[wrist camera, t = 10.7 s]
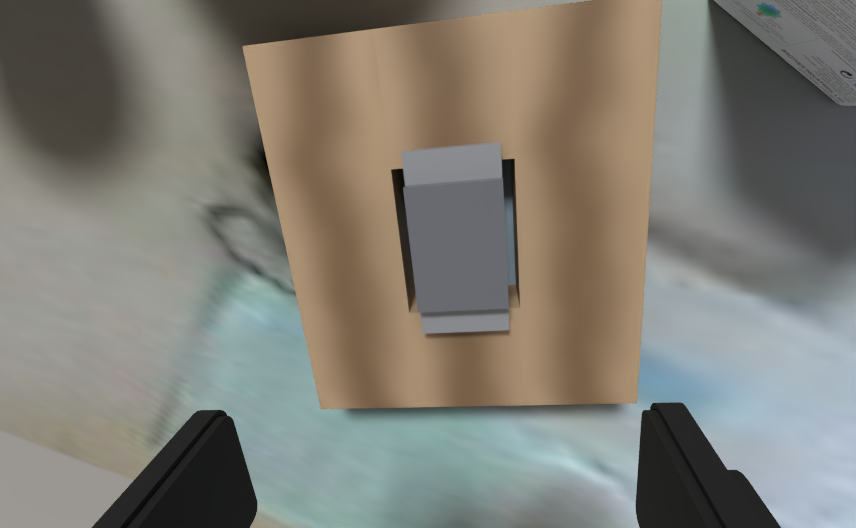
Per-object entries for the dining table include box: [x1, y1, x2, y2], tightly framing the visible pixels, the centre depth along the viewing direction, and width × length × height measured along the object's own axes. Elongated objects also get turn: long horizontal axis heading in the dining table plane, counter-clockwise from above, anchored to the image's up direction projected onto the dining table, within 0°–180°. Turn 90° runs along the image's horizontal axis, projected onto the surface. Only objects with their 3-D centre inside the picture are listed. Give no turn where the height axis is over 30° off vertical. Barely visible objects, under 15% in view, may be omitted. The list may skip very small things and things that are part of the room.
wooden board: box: [242, 0, 662, 409], centre depth 27 cm, size 20×22×4 cm
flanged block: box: [401, 142, 509, 334], centre depth 26 cm, size 5×10×5 cm, turn 6°
